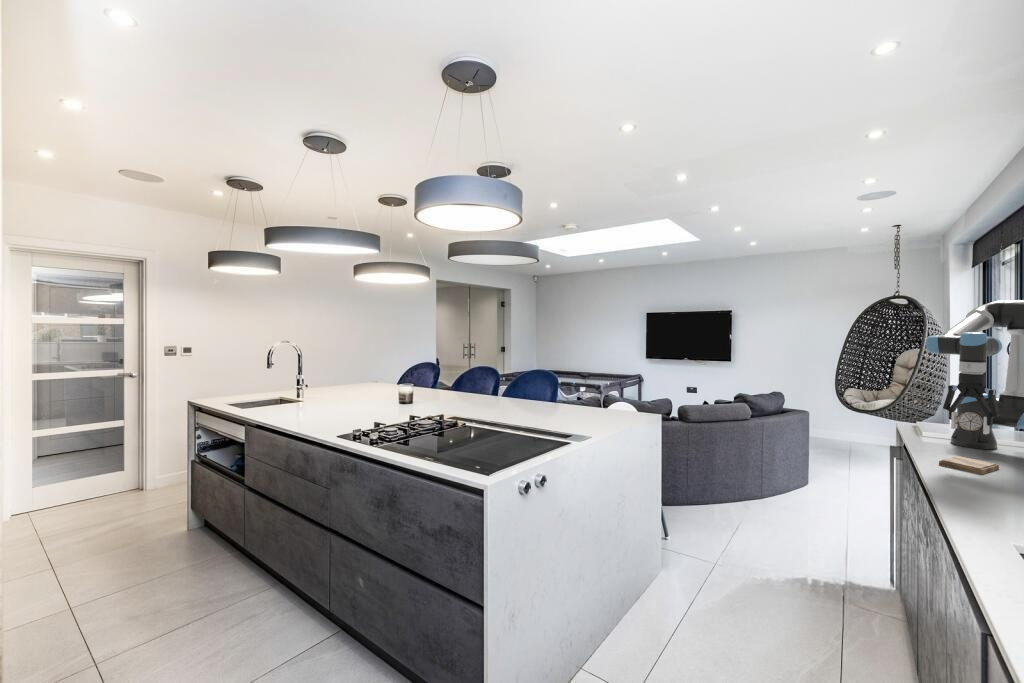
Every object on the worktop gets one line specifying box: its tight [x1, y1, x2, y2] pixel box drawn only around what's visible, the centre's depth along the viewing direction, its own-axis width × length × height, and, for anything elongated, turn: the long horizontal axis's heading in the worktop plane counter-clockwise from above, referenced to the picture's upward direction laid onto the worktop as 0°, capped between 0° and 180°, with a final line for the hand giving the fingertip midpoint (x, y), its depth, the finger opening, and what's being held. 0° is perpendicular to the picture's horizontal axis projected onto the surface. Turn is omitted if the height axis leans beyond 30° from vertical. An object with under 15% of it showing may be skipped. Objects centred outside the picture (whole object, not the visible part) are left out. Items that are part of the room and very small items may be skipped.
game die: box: [956, 410, 984, 433], centre depth 191 cm, size 9×8×10 cm
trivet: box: [938, 455, 1000, 475], centre depth 192 cm, size 13×13×2 cm
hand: (969, 430), depth 191 cm, fingers closed on game die, 9 cm apart
